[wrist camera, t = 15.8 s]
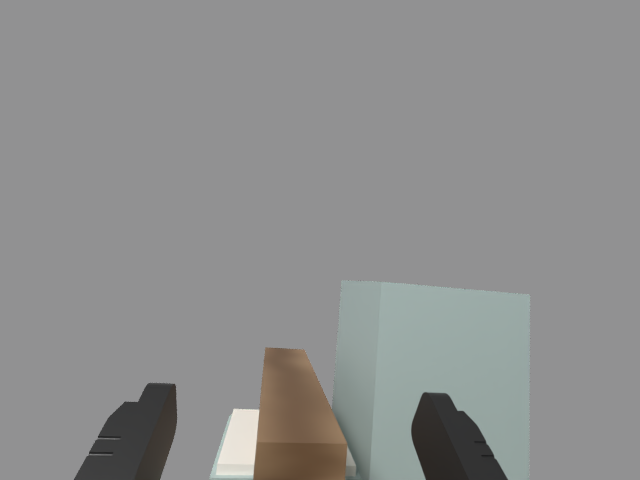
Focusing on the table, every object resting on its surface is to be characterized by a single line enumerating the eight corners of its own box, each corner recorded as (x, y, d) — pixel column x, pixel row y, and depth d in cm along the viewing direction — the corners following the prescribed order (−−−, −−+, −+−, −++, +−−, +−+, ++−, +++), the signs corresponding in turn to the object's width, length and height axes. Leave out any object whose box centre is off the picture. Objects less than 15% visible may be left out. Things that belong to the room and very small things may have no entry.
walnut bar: (300, 389, 34) (304, 349, 35) (340, 542, 14) (347, 443, 15) (261, 388, 34) (265, 347, 34) (246, 544, 14) (257, 442, 14)
